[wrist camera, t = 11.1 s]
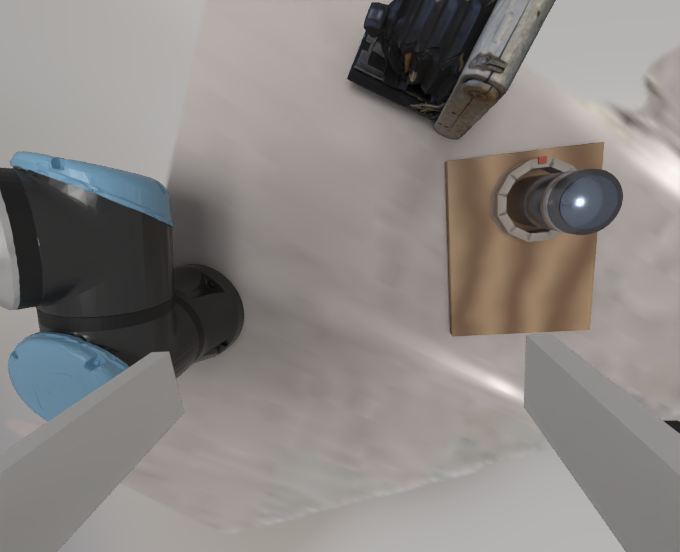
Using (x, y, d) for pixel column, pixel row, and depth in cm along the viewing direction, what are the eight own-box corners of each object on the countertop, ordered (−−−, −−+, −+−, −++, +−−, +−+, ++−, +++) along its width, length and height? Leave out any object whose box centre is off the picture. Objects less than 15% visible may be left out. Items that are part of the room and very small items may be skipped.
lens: (504, 227, 41) (551, 239, 30) (504, 179, 39) (554, 172, 29) (555, 222, 40) (622, 232, 29) (557, 172, 39) (628, 163, 28)
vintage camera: (381, 14, 39) (370, -166, 20) (496, 65, 38) (602, -71, 19) (348, 95, 41) (311, 6, 22) (456, 144, 41) (512, 95, 22)
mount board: (450, 332, 47) (457, 344, 42) (445, 162, 41) (452, 158, 37) (582, 325, 44) (604, 338, 40) (595, 144, 39) (621, 137, 35)
